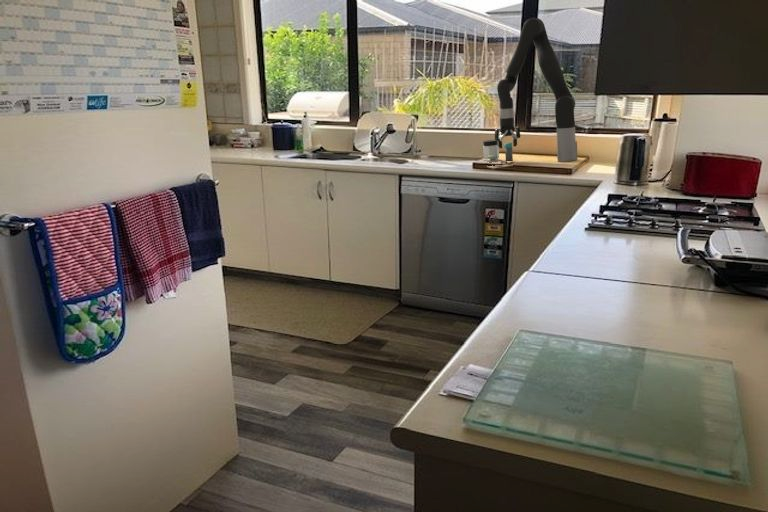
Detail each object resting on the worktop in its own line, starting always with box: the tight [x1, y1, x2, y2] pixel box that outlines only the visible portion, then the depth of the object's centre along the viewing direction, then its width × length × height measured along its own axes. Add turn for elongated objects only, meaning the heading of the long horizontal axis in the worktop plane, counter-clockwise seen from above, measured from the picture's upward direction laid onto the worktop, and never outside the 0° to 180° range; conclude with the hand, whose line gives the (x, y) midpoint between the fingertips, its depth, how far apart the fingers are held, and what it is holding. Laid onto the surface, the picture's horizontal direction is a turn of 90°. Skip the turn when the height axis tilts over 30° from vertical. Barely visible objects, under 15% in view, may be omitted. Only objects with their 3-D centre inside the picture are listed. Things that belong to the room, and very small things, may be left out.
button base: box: [483, 158, 502, 163], centre depth 328 cm, size 7×7×2 cm
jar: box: [482, 139, 500, 160], centre depth 338 cm, size 9×8×12 cm
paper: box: [485, 164, 514, 169], centre depth 319 cm, size 12×9×1 cm
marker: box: [504, 142, 514, 162], centre depth 326 cm, size 4×4×11 cm
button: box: [488, 155, 497, 161], centre depth 328 cm, size 5×5×3 cm
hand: (507, 147), depth 326 cm, fingers open, 8 cm apart
